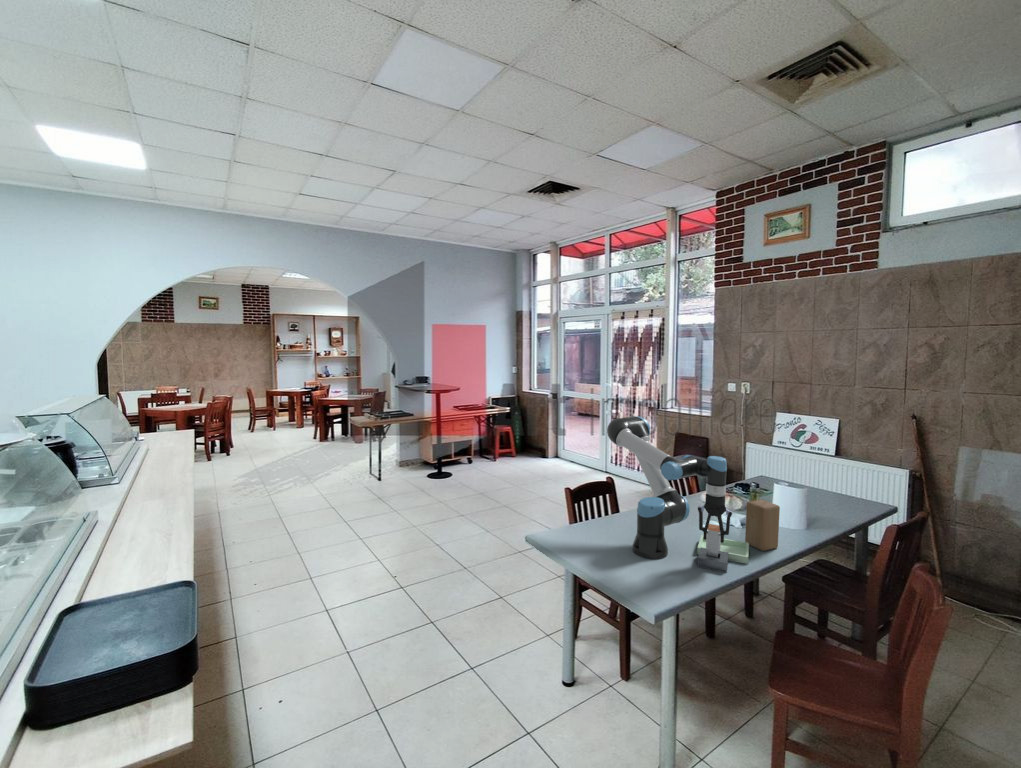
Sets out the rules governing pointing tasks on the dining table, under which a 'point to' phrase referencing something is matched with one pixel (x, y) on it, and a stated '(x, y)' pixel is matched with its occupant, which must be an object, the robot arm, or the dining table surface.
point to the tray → (730, 549)
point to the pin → (713, 540)
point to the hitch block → (713, 560)
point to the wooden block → (762, 524)
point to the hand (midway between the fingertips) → (713, 548)
